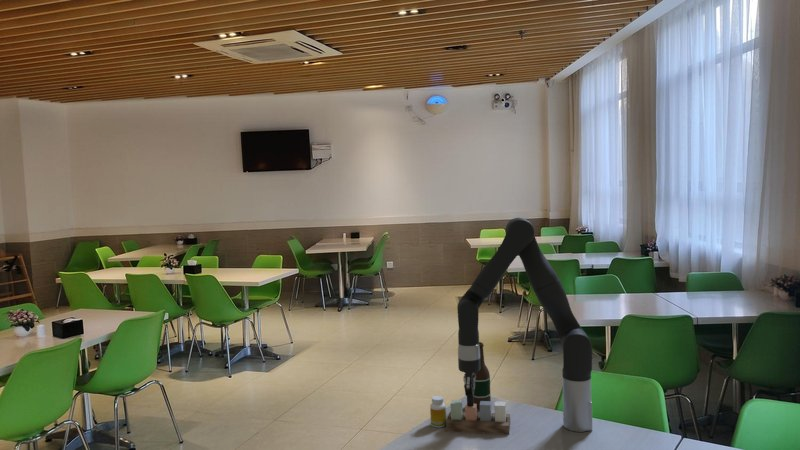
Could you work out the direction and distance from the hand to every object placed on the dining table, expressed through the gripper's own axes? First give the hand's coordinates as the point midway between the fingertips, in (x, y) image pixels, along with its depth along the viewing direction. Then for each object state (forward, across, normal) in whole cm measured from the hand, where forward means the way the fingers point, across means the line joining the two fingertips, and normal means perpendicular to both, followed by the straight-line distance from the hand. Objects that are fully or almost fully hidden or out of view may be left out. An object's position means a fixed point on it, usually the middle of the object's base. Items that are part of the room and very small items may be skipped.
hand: (470, 405), depth 210 cm
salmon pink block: (+6, 0, 0) cm, 6 cm away
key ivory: (+5, 0, -10) cm, 11 cm away
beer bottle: (+8, +19, -2) cm, 21 cm away
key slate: (+5, 0, -5) cm, 7 cm away
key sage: (+5, 0, +5) cm, 7 cm away
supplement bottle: (+8, 0, +11) cm, 14 cm away
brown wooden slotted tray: (+7, 0, -3) cm, 8 cm away
